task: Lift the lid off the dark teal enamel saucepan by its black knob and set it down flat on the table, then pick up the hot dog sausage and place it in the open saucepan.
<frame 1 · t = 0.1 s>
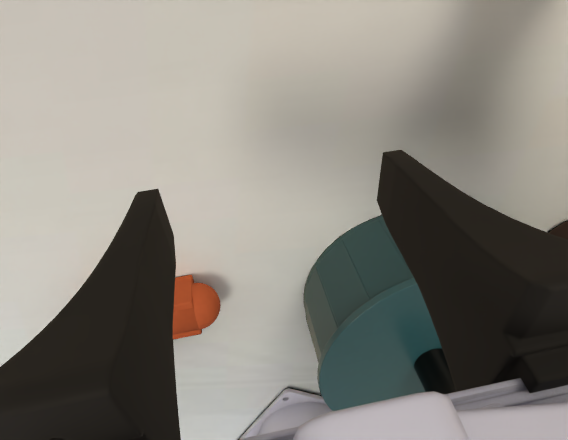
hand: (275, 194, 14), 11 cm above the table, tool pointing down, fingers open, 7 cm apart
pot lid: (428, 354, 28), point 6 cm above the table, touching pot
bottle: (565, 247, 34), on the table
hot dog: (155, 298, 30), on the table
pot: (391, 285, 33), on the table
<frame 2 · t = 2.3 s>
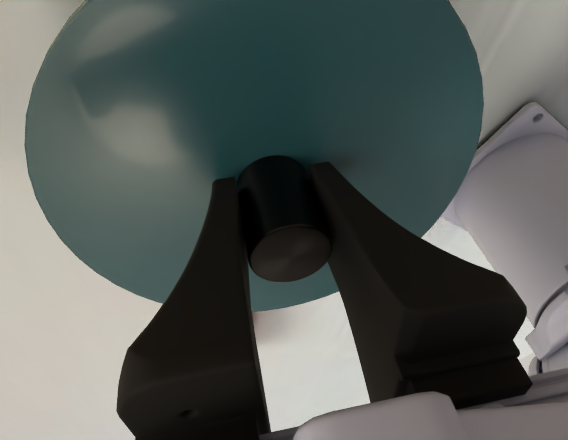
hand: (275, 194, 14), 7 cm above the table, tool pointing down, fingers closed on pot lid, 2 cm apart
pot lid: (269, 175, 15), point 6 cm above the table, touching gripper, pot
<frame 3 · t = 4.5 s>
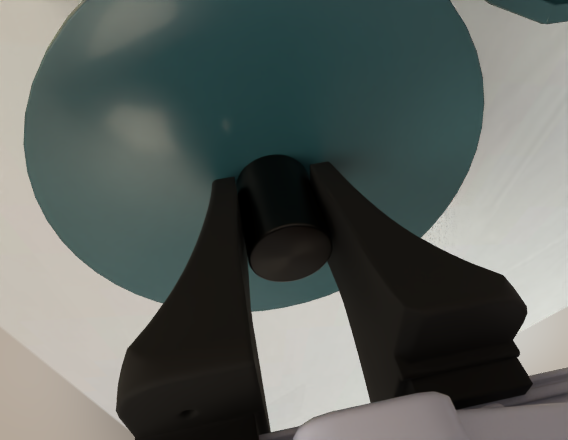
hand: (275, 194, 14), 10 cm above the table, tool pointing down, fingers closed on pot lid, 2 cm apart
pot lid: (269, 174, 15), point 9 cm above the table, touching gripper
when the fingers open (2 cm above the table, at t = 6.8 s): pot lid stays where it is, point 1 cm above the table.
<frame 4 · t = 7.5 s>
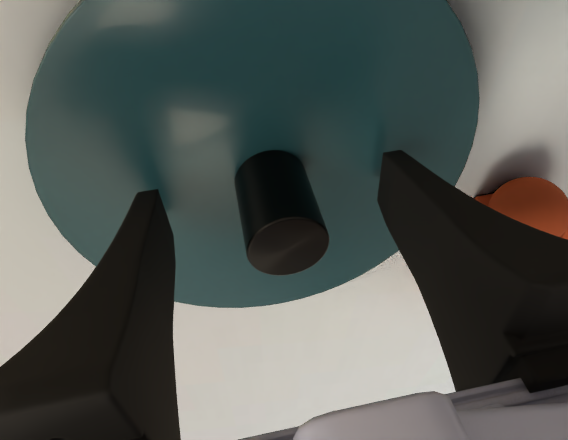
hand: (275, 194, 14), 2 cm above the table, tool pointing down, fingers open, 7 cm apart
pot lid: (267, 170, 15), point 1 cm above the table
hot dog: (489, 234, 21), on the table
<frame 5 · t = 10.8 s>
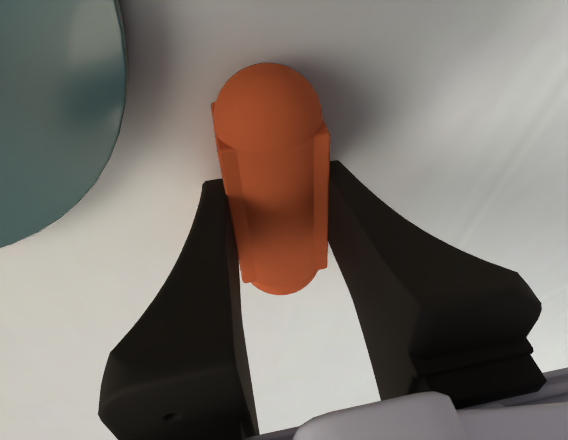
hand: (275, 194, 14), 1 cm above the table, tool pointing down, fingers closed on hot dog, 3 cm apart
hot dog: (267, 168, 15), on the table, touching gripper
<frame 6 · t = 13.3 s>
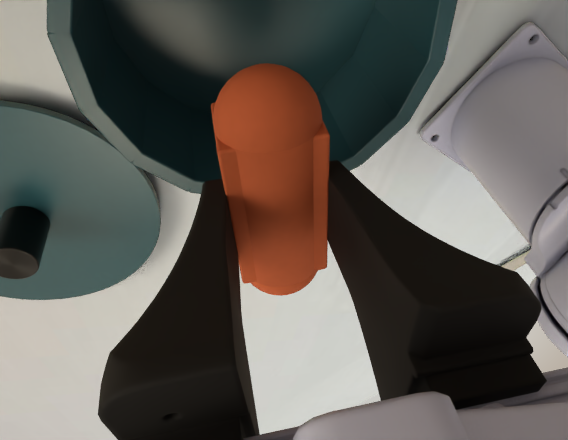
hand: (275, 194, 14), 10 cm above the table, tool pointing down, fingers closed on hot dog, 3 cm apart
pot lid: (28, 215, 25), point 1 cm above the table
hot dog: (267, 168, 15), point 9 cm above the table, touching gripper
when the fingers open (2 cm above the table, at t = 16.1 s): hot dog stays where it is, resting on pot.
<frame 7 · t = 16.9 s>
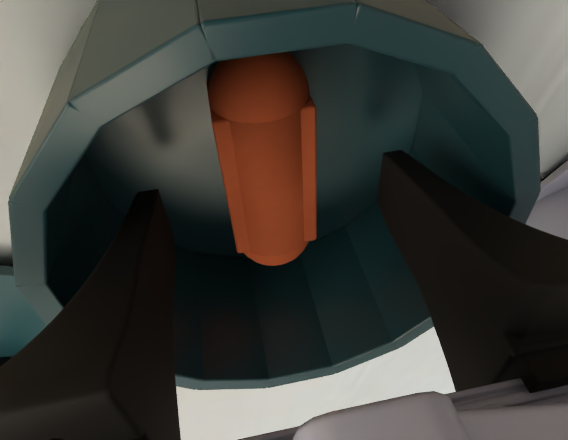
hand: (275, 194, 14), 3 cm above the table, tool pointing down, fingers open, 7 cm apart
pot lid: (13, 359, 22), point 1 cm above the table
hot dog: (260, 145, 16), resting on pot
pot: (259, 139, 16), on the table
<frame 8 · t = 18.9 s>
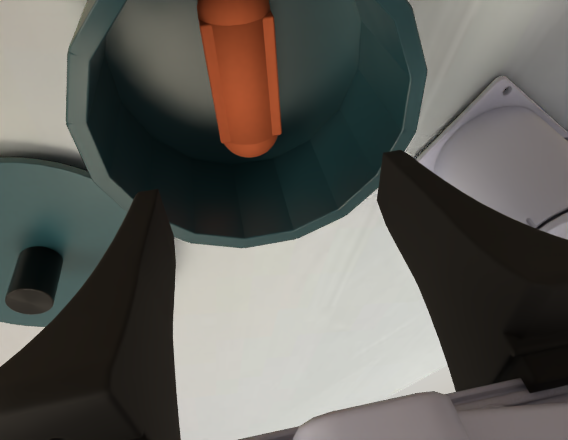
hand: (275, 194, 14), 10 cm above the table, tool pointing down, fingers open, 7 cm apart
pot lid: (42, 253, 27), point 1 cm above the table
hot dog: (238, 61, 21), resting on pot
pot: (238, 58, 21), on the table
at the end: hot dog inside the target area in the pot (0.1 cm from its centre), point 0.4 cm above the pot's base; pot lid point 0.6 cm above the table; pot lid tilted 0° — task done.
